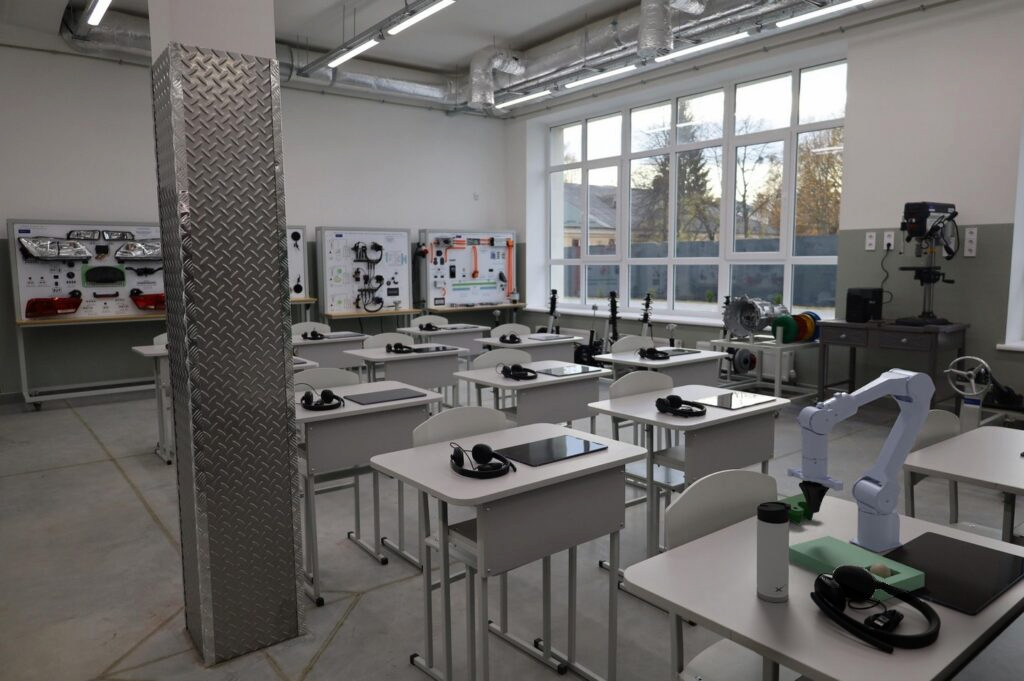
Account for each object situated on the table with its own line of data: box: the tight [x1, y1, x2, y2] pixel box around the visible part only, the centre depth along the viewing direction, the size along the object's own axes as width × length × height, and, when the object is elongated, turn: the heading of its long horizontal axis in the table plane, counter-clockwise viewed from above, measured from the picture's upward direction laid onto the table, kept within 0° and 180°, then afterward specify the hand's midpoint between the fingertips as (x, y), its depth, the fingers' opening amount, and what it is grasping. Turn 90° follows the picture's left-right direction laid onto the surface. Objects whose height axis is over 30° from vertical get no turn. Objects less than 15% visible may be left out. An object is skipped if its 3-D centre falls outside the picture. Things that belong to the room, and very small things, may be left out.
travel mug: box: [756, 501, 791, 603], centre depth 141 cm, size 6×7×20 cm
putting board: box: [789, 535, 926, 602], centre depth 152 cm, size 24×14×3 cm, turn 25°
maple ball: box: [870, 563, 891, 579], centre depth 146 cm, size 4×4×4 cm
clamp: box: [776, 492, 815, 525], centre depth 185 cm, size 12×6×9 cm, turn 117°
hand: (813, 511), depth 164 cm, fingers closed
